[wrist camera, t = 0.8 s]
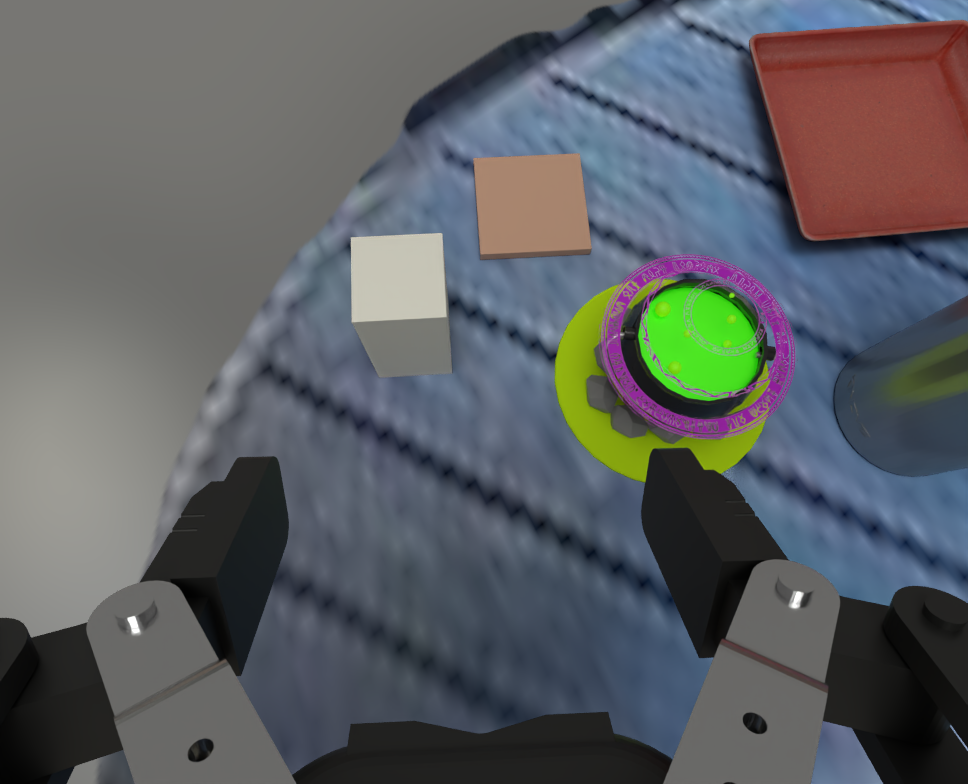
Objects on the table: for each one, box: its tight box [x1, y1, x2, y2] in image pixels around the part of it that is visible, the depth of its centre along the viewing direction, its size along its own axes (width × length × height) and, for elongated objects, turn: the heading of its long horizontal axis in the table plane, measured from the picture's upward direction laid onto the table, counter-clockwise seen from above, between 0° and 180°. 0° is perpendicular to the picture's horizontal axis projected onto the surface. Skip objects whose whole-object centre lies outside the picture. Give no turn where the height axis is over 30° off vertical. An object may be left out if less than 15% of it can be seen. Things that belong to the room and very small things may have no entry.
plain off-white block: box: [351, 233, 452, 378], centre depth 38 cm, size 5×5×10 cm
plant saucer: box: [749, 20, 968, 241], centre depth 46 cm, size 18×18×3 cm
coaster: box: [474, 154, 592, 260], centre depth 45 cm, size 8×8×1 cm
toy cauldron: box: [555, 254, 798, 482], centre depth 37 cm, size 15×15×11 cm
